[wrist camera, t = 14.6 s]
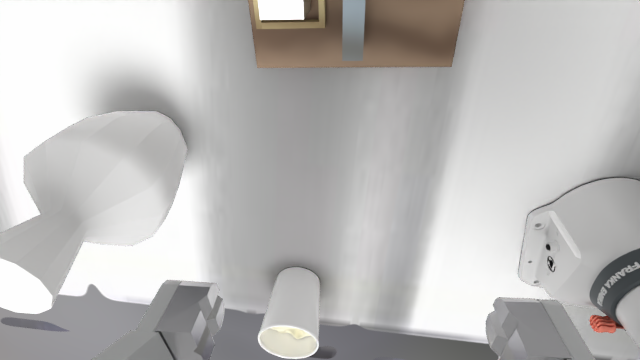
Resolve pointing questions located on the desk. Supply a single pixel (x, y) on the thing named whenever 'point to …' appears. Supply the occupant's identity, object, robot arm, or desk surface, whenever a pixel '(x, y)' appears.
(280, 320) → the candle holder
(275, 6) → the bar
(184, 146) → the vase
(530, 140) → the desk surface
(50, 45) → the desk surface
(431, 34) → the board
